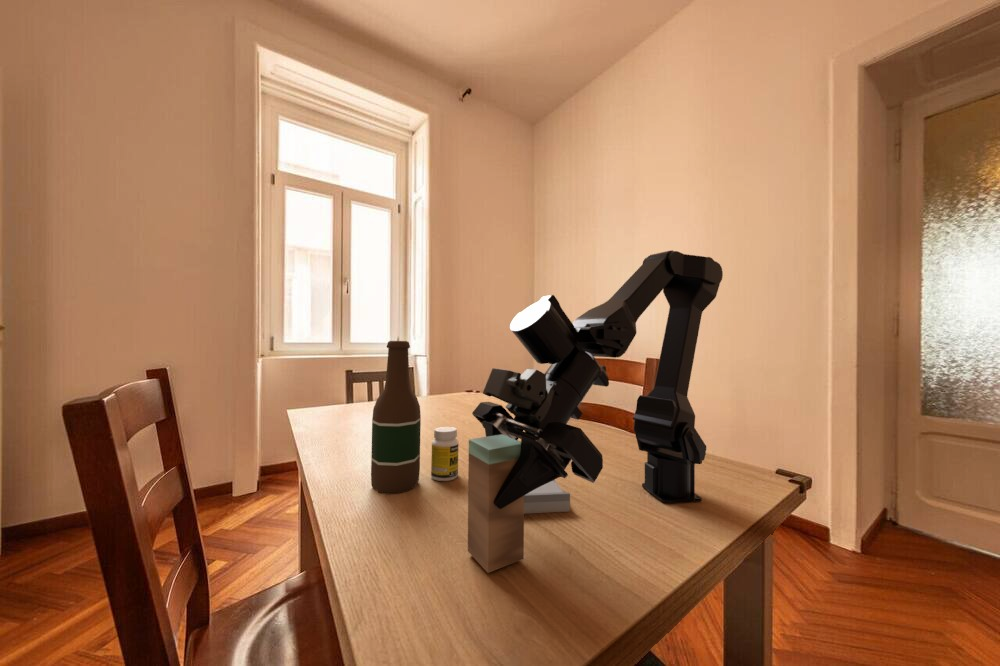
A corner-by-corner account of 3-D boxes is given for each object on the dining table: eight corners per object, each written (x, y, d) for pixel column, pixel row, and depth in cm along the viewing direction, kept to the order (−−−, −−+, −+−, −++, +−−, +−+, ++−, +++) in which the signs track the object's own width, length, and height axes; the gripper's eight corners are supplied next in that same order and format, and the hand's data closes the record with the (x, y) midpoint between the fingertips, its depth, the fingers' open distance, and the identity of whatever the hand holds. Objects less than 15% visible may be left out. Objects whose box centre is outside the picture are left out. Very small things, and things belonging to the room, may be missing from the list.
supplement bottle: (452, 483, 61) (453, 433, 61) (426, 480, 62) (427, 431, 62) (461, 473, 66) (462, 426, 66) (437, 470, 67) (437, 425, 67)
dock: (552, 486, 60) (552, 471, 60) (569, 511, 51) (570, 493, 51) (480, 489, 59) (481, 473, 59) (486, 515, 50) (486, 497, 50)
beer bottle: (417, 474, 65) (419, 341, 65) (421, 491, 57) (424, 341, 58) (371, 479, 62) (374, 340, 63) (370, 497, 55) (373, 340, 55)
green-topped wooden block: (501, 539, 43) (502, 434, 43) (523, 558, 39) (524, 443, 39) (467, 551, 40) (468, 439, 41) (487, 573, 37) (489, 449, 37)
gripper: (485, 343, 50) (407, 433, 44) (582, 345, 34) (482, 485, 28) (530, 395, 54) (463, 484, 48) (635, 418, 39) (557, 555, 32)
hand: (484, 497), depth 39 cm, fingers closed on green-topped wooden block, 4 cm apart
